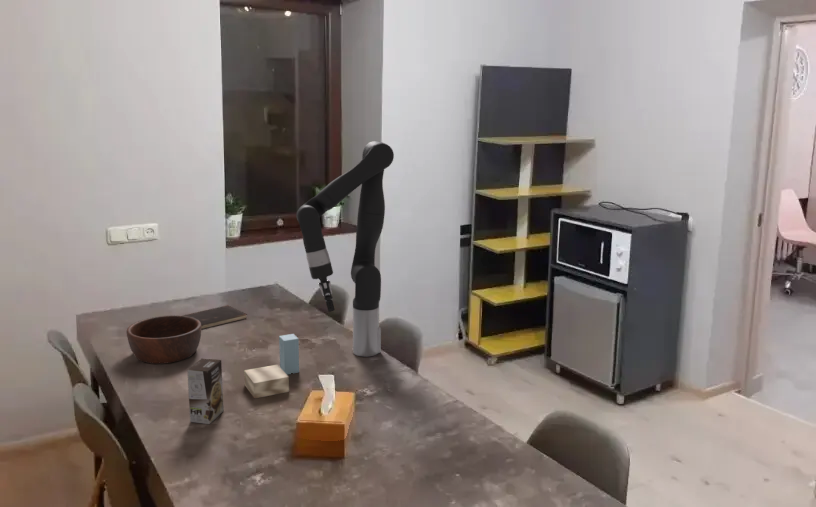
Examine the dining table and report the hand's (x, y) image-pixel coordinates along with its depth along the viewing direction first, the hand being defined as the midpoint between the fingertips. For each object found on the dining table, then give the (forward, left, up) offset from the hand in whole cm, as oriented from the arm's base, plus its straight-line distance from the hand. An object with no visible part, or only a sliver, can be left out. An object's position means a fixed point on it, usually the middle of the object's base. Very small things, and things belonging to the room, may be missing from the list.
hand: (330, 308), depth 242 cm
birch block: (+27, +12, -19) cm, 35 cm away
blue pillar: (+16, +2, -19) cm, 25 cm away
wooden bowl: (+50, -32, -20) cm, 62 cm away
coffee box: (+48, +23, -19) cm, 56 cm away
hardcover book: (+27, -62, -20) cm, 71 cm away
